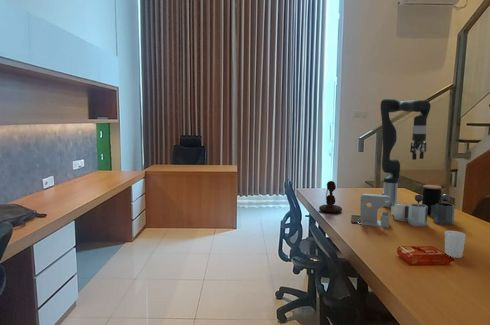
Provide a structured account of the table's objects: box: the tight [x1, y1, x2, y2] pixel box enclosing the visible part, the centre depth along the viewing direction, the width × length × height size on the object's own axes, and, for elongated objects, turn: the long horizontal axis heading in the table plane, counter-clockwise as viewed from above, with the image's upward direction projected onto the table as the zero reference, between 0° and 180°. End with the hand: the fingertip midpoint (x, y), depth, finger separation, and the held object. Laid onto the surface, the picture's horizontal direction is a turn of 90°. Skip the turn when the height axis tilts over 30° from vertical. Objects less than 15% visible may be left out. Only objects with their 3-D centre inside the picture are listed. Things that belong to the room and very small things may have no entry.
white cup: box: [444, 230, 467, 259], centre depth 156 cm, size 8×8×10 cm
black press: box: [430, 193, 456, 226], centre depth 208 cm, size 12×9×17 cm
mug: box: [390, 202, 409, 222], centre depth 216 cm, size 10×8×9 cm
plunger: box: [414, 193, 423, 207], centre depth 204 cm, size 6×6×16 cm
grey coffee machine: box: [357, 193, 391, 228], centre depth 205 cm, size 17×10×18 cm, turn 68°
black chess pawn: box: [318, 180, 343, 215], centre depth 233 cm, size 15×15×20 cm
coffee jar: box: [421, 184, 443, 216], centre depth 229 cm, size 11×11×18 cm
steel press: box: [404, 203, 428, 227], centre depth 206 cm, size 12×9×11 cm
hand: (417, 159), depth 220 cm, fingers open, 8 cm apart
